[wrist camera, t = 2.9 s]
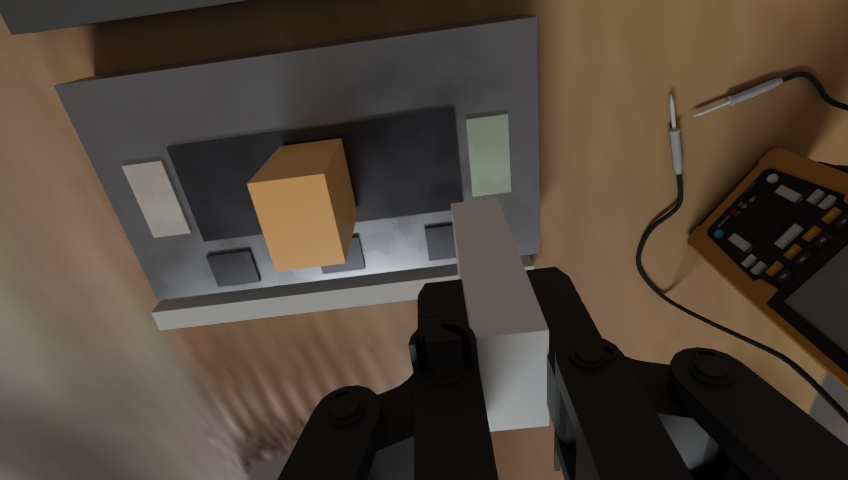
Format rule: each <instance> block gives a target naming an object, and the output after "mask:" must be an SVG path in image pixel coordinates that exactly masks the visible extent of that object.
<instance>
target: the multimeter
mask: <svg viewBox="0 0 848 480" xmlns="http://www.w3.org/2000/svg"><path fill="white" fill-rule="evenodd" d="M797 77H806V78H808V79H809V80H810V81H811V82H812V83H813V84H814V86H815V87H816V88H817V90H818V92H819V94H820V96H821V97H822V98H823V99H824V101H826V102H827V103H829V104H831V105H833V106H835V107H838V108H841V109H844V110H847V111H848V105H847V104H844V103H841V102H838V101H836V100H834V99H832V98H830V97H829V96H828V94H827V93H826V92H825V90H824V88H823V86H822V85H821V83H820V82H819V81H818V80H817V78H816V77H815V76H813V75H812V74H811V73H807V72H797V73H793V74H790V75H787V76H785V77H782V78H777V79H773V80H770V81H767V82H764V83H762V84H760V85H757V86H755V87H752V88H750V89H747V90H745V91H742V92H740V93H737V94H735V95H733V96H727V97H726V101H725V102H723V103H720V104H718V105H715V106H713V107H710V108H708V109H705V110H703V111H700V112H698V113H697V114H695V115H694V116H699V115H702V114H705V113H707V112H710V111H712V110H715V109H717V108H720V107H722V106H724V105H727V104H728V106H730V107H732V106H734V105H735V104H736V103H739V102H741V101H744V100H746V99H749V98H751V97H754V96H756V95H759V94H761V93H764V92H766V91H769V90H771V89H773V88H775V87H777V86H779V85H781V84H782V83H783V82H785V81H788V80H790V79H793V78H797ZM670 111H671V121H672V128H671V129H669V130H668V132H669V134H670V141H671V151H672V160H673V167H674V171H675V174H676V176H677V184H678V202H677V204H676V206H675V207H674V208H673V209H672V210H671V211H670V212H668V213H667V214H666V215H664V216H663V217H662V218H660V219H659V220H657V221H656V222H655V223H654V224H653V225H652V226H651V227H650V228H649V229H648V230H647V231H646V233H645V234H644V236H643V238H642V240H641V243H640V245H639V248H638V251H637V255H636V265H637V268H638V271H639V273H640V275H641V276H642V278H643V279H644V281H645V282H646V283H647V284H648V285H649V286H650V287H651V288H652V289H653V290H654V291H655V292H656V293H657V294H658V295H659V296H660V297H662V298H663V299H664V300H666V301H667V302H669V303H670V304H672V305H673V306H675V307H677V308H679V309H680V310H682V311H684V312H686V313H688V314H690V315H692V316H694V317H696V318H698V319H700V320H702V321H704V322H706V323H708V324H710V325H712V326H714V327H716V328H718V329H720V330H722V331H725V332H727V333H729V334H731V335H733V336H735V337H737V338H739V339H741V340H744V341H746V342H748V343H750V344H752V345H754V346H756V347H758V348H761V349H763V350H765V351H767V352H769V353H770V354H772V355H774V356H776V357H778V358H780V359H781V360H783V361H784V362H786V363H787V364H789V365H790V366H791V367H792V368H793V369H794V370H795V371H796V372H798V373H799V374H800V375H801V376H802V377H803V378H804V379H805V380H806V381H808V382H809V383H810V384H811V385H812V386H813V387H814V388H815V389H816V390H817V392H818V393H819V394H820V395H821V396H822V397H823V398H824V399H825V400H827V402H828V403H829V404H830V405H831V406H832V407H833V408H834V409H835V410H836V411H837V412H838V413H839V414H840V415H841V416H842V417H843V418H844V419H845V421H846V422H847V423H848V413H847V412H846V411H845V410H844V409H843V408H842V407H841V406H840V405H839V404H838V403H837V402H836V401H835V400H834V399H833V398H832V397H831V396H830V395H829V394H828V393H827V392H826V391H825V390H824V389H823V388H822V387H821V386H820V385H819V384H818V383H817V382H816V381H815V380H814V379H813V378H812V377H811V376H810V375H809V374H808V373H806V372H805V371H804V370H803V369H802V368H801V367H800V366H798V365H797V364H796V363H795V362H793V361H792V360H791V359H789V358H788V357H786V356H785V355H783V354H781V353H779V352H777V351H775V350H773V349H771V348H769V347H767V346H765V345H763V344H761V343H758V342H756V341H754V340H752V339H750V338H747V337H745V336H743V335H741V334H739V333H736V332H734V331H732V330H730V329H728V328H725V327H723V326H721V325H719V324H717V323H715V322H712V321H710V320H708V319H706V318H704V317H702V316H700V315H698V314H696V313H694V312H692V311H690V310H688V309H686V308H684V307H682V306H681V305H679V304H677V303H675V302H674V301H672V300H671V299H669V298H668V297H666V296H665V295H664V294H662V293H661V292H660V291H659V290H658V289H657V288H656V287H655V286H654V285H653V284H652V283H651V282H650V281H649V280H648V279H647V277H646V276H645V274H644V272H643V270H642V267H641V262H640V259H641V253H642V250H643V247H644V245H645V242H646V240H647V238H648V236H649V235H650V233H651V232H652V231H653V230H654V229H655V228H656V227H657V226H658V225H659V224H660V223H662V222H663V221H665V220H666V219H667V218H669V217H670V216H672V215H673V214H674V213H675V212H676V211H677V210H678V209H679V208H680V206H681V204H682V201H683V184H682V176H681V173H682V165H683V164H682V153H681V142H680V131H681V129H680V128H679V127H676V120H675V110H674V101H673V98H672V95H671V97H670ZM694 116H692V117H694ZM757 164H758V165H757V166H756V167H755V168H754V169H753V170H752V171H751V172H750V174H749V175H748V176H747V177H746V178H745V179H744V180H743V181H742V182H741V183H740V184H739V185H738V186H737V187H736V188H735V189H734V191H733V192H732V193H731V194H730V195H729V196H728V197H727V198H726V199H725V200H724V201H723V202H722V203H721V204H720V205H719V206H718V208H717V209H716V210H715V211H714V212H713V213H712V214H711V215H710V216H709V217H708V218H707V219H706V220H705V221H704V222H703V223H702V225H701V226H697V227H696V229H695V230H694V231H693V232H692V233H691V235H690V236H689V238H688V246H689V247H690V248H691V249H693V250H694V251H695V252H696V253H697V254H698V255H700V256H701V257H702V258H703V259H704V260H705V261H706V262H707V263H708V264H709V265H710V266H711V267H712V268H713V269H715V270H716V271H717V272H718V273H719V274H720V275H721V276H722V277H723V278H724V279H725V280H726V281H728V282H729V283H730V284H731V285H732V286H733V287H734V288H735V289H736V290H737V291H738V292H739V293H740V294H741V295H742V296H744V297H745V298H746V299H747V300H748V301H749V302H750V303H751V304H752V305H754V306H755V307H756V308H757V309H758V310H759V311H760V312H761V313H762V314H764V315H765V316H766V317H767V318H768V319H769V320H770V321H771V322H772V323H774V324H775V325H776V326H777V327H778V328H779V329H780V330H781V331H782V332H784V333H785V334H786V335H787V336H788V337H789V338H790V339H791V340H792V341H794V342H795V343H796V344H797V345H798V346H799V347H800V348H801V349H802V350H804V351H805V352H806V353H807V354H808V355H809V356H810V357H811V358H812V359H814V360H815V361H816V362H817V363H818V364H819V365H820V366H821V367H822V368H824V369H825V370H826V371H827V372H828V373H829V374H830V375H831V376H832V377H834V378H835V379H836V380H837V381H838V382H839V383H840V384H841V385H842V386H844V387H845V388H846V389H847V390H848V166H845V165H833V164H828V163H823V162H816V161H814V160H811V159H808V158H806V157H802V156H801V155H798V154H795V153H793V152H790V151H788V150H786V149H784V148H783V147H780V148H775V149H772V150H771V151H769V152H768V153H767V154H766V155H764V156H763V157H762V158H761V159H760V160H759V161H758V162H757Z"/></svg>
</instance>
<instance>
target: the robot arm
mask: <svg viewBox="0 0 848 480" xmlns="http://www.w3.org/2000/svg"><path fill="white" fill-rule="evenodd" d="M450 204H451V213H452V222H453V231H454V240H455V249H456V258H457V267H458V276H459V279H458V280H449V281H440V282H432V283H425V284H424V286H423V287H422V289H421V291H420V292H419V294H418V329H417V330H416V331H415V332H414V334H413V335H412V336H411V338H410V342H409V350H410V356H411V361H412V366H413V372H414V373H413V374H412V375H411V377H410V378H409V379H408V380H407V381H405V382H404V383H403V384H401V385H400V386H398V387H396V388H394V389H392V390H389V391H387V392H384V393H381V394H379V395H377V394H375V393H374V392H373V391H372V390H370V389H369V388H366V387H362V386H358V385H357V386H345V387H342V388H340V389H337V390H334V391H332V392H331V393H330V394H328V395H327V396H325V397H324V398H323V399H322V400H321V401H320V402H319V404H318V405H317V406H316V408H315V409H314V411H313V413H312V415H311V417H310V419H309V420H308V422H307V424H306V426H305V428H304V430H303V432H302V434H301V436H300V438H299V440H298V441H297V443H296V445H295V447H294V449H293V451H292V453H291V455H290V457H289V459H288V461H287V462H286V464H285V466H284V468H283V470H282V472H281V474H280V476H279V478H278V480H498V475H497V470H496V464H495V458H494V452H493V446H492V440H491V435H490V432H491V431H501V430H511V429H521V428H531V427H541V426H549V413H550V416H551V419H552V422H553V425H554V428H555V431H554V465H555V471H560V466H561V469H562V472H563V476H564V479H565V480H848V446H847V445H846V444H845V443H843V442H842V441H841V440H840V439H838V438H837V437H836V436H834V435H833V434H832V433H831V432H829V431H828V430H827V429H826V428H824V427H823V426H822V425H821V424H819V423H818V422H817V421H815V420H814V419H813V418H812V417H810V416H809V415H808V414H807V413H805V412H804V411H803V410H801V409H800V408H799V407H798V406H796V405H795V404H794V403H793V402H791V401H790V400H789V399H787V398H786V397H785V396H784V395H782V394H781V393H780V392H779V391H777V390H776V389H775V388H773V387H772V386H771V385H770V384H768V383H767V382H766V381H764V380H763V379H762V378H761V377H759V376H758V375H757V374H756V373H754V372H753V371H752V370H750V369H749V368H748V367H747V366H745V365H744V364H743V363H742V362H740V361H738V360H737V359H735V358H733V357H732V356H730V355H728V354H726V353H723V352H720V351H717V350H714V349H707V348H699V347H696V348H689V349H684V350H682V351H680V352H678V353H676V354H675V355H674V357H673V358H672V360H671V362H670V365H667V364H660V363H652V362H644V361H639V360H634V359H631V358H628V357H626V356H624V354H623V353H622V352H621V351H620V350H619V349H618V347H617V346H616V345H614V344H613V343H611V342H609V341H607V340H606V339H603V338H602V337H601V335H600V333H599V331H598V330H597V328H596V326H595V324H594V322H593V320H592V318H591V317H590V315H589V313H588V311H587V309H586V307H585V305H584V304H583V302H582V301H581V298H580V296H579V294H578V292H577V291H576V289H575V287H574V285H573V283H572V281H571V279H570V277H569V276H568V275H566V274H565V273H563V272H562V271H561V270H559V269H558V268H556V267H550V268H541V269H533V270H525V268H524V265H523V263H522V260H521V258H520V255H519V252H518V250H517V247H516V245H515V242H514V240H513V237H512V235H511V232H510V230H509V227H508V224H507V222H506V219H505V217H504V214H503V212H502V209H501V207H500V204H499V201H498V199H497V198H490V199H482V200H474V201H466V202H458V203H450Z"/></svg>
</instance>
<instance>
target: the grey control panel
mask: <svg viewBox="0 0 848 480" xmlns="http://www.w3.org/2000/svg"><path fill="white" fill-rule="evenodd" d="M54 87H55V89H56V91H57V93H58V95H59V97H60V99H61V101H62V103H63V105H64V107H65V109H66V111H67V113H68V115H69V117H70V120H71V122H72V124H73V126H74V128H75V130H76V132H77V134H78V136H79V138H80V140H81V142H82V144H83V146H84V148H85V150H86V153H87V155H88V157H89V159H90V161H91V163H92V165H93V167H94V169H95V171H96V173H97V175H98V177H99V179H100V181H101V183H102V186H103V188H104V190H105V192H106V194H107V196H108V198H109V200H110V202H111V204H112V206H113V208H114V210H115V212H116V214H117V216H118V219H119V221H120V223H121V225H122V227H123V229H124V231H125V233H126V235H127V237H128V239H129V241H130V243H131V245H132V247H133V249H134V252H135V254H136V256H137V258H138V260H139V262H140V264H141V266H142V268H143V270H144V272H145V274H146V276H147V278H148V280H149V282H150V285H151V287H152V289H153V291H154V293H155V295H156V297H157V299H158V300H166V299H174V298H182V297H190V296H198V295H206V294H214V293H223V292H231V291H239V290H247V289H255V288H263V287H271V286H279V285H287V284H295V283H304V282H312V281H320V280H328V279H336V278H344V277H352V276H360V275H368V274H376V273H385V272H393V271H401V270H409V269H417V268H425V267H433V266H441V265H449V264H457V258H456V249H455V240H454V231H453V222H452V213H451V204H450V203H458V202H466V201H474V200H482V199H490V198H497V199H498V201H499V204H500V207H501V209H502V212H503V214H504V217H505V219H506V222H507V224H508V227H509V230H510V232H511V235H512V237H513V240H514V242H515V245H516V247H517V250H518V252H519V255H520V256H522V255H530V254H538V253H540V191H539V108H538V26H537V17H536V16H529V15H516V16H509V17H502V18H495V19H488V20H481V21H474V22H467V23H460V24H453V25H446V26H439V27H432V28H425V29H418V30H411V31H404V32H397V33H390V34H383V35H376V36H369V37H362V38H355V39H348V40H341V41H334V42H327V43H320V44H313V45H306V46H299V47H292V48H285V49H278V50H271V51H264V52H257V53H250V54H243V55H236V56H229V57H222V58H215V59H208V60H201V61H194V62H187V63H180V64H173V65H166V66H159V67H152V68H145V69H138V70H131V71H124V72H117V73H110V74H103V75H96V76H91V77H87V78H83V79H79V80H75V81H71V82H67V83H63V84H59V85H55V86H54ZM339 138H341V139H342V143H343V148H344V153H345V157H346V162H347V166H348V171H349V176H350V180H351V185H352V190H353V194H354V199H355V204H356V208H357V213H358V215H357V219H356V223H355V227H354V231H353V235H352V239H351V243H350V248H349V252H348V256H347V260H346V263H344V264H336V265H328V266H320V267H312V268H304V269H296V270H288V271H280V272H276V271H275V268H274V265H273V262H272V259H271V256H270V253H269V250H268V247H267V244H266V241H265V238H264V235H263V232H262V229H261V226H260V223H259V219H258V216H257V213H256V210H255V207H254V204H253V201H252V198H251V195H250V192H249V189H248V186H247V183H248V182H249V181H250V180H251V179H252V177H253V176H254V175H255V174H256V173H257V172H258V171H259V169H260V168H261V167H262V166H263V165H264V164H265V163H266V161H267V160H268V159H269V158H270V157H271V156H272V155H273V153H274V152H275V151H276V150H277V149H278V148H279V147H280V146H287V145H294V144H301V143H309V142H316V141H324V140H331V139H339Z"/></svg>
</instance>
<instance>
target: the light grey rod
mask: <svg viewBox="0 0 848 480" xmlns="http://www.w3.org/2000/svg"><path fill="white" fill-rule="evenodd" d="M520 258H521V260H522V263H523V265H524V268H525V270H533V269H534V265H533V263H532V260H531V258H530V256H529V255H522V256H520ZM458 279H459V276H458V267H457V264H449V265H441V266H433V267H425V268H417V269H409V270H401V271H393V272H385V273H376V274H368V275H360V276H352V277H344V278H336V279H328V280H320V281H312V282H304V283H295V284H287V285H279V286H271V287H263V288H255V289H247V290H239V291H231V292H223V293H214V294H206V295H198V296H190V297H182V298H174V299H166V300H161V301H160V302H159V304H158V305H157V306H156V307H155V309H154V310H153V311H152V312H151V314H152V316H153V318H154V320H155V322H156V324H157V326H158V328H159V330H167V329H175V328H183V327H192V326H200V325H208V324H217V323H225V322H233V321H241V320H250V319H258V318H266V317H274V316H283V315H291V314H299V313H308V312H316V311H324V310H332V309H341V308H349V307H357V306H365V305H374V304H382V303H390V302H398V301H407V300H415V299H418V294H419V292H420V291H421V289H422V287H423V286H424V284H425V283H432V282H440V281H449V280H458Z"/></svg>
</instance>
